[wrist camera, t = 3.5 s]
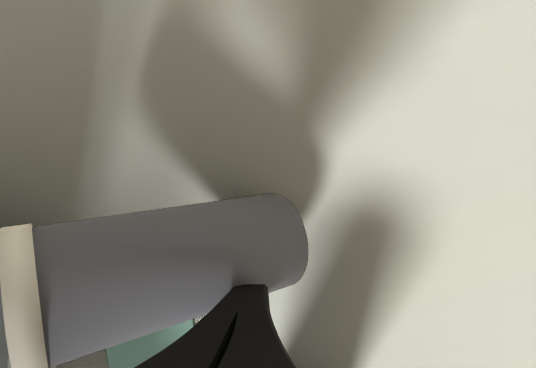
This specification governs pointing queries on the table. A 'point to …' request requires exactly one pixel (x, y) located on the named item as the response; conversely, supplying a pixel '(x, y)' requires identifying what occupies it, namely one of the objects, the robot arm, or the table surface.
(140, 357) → the pad
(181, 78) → the table surface
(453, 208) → the table surface
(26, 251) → the post
